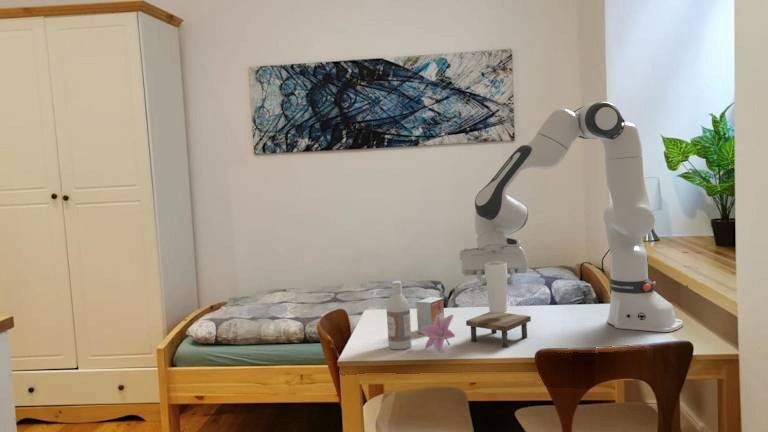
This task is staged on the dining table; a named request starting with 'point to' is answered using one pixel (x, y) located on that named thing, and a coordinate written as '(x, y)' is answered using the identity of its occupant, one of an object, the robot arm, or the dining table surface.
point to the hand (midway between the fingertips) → (497, 284)
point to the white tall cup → (496, 286)
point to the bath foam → (398, 319)
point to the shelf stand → (499, 324)
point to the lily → (438, 332)
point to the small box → (429, 311)
